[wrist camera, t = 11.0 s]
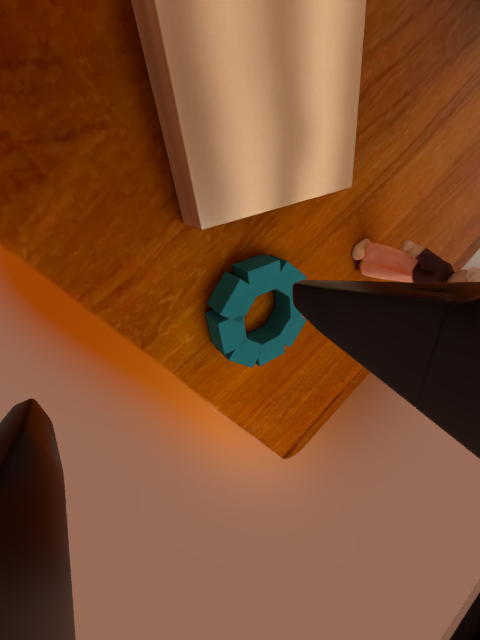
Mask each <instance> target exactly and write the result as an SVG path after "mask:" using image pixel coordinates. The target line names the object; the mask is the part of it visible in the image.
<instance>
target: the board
mask: <svg viewBox="0 0 480 640" xmlns="http://www.w3.org/2000/svg"><path fill="white" fill-rule="evenodd" d="M131 2H132V7H133V11H134V15H135V19H136V24H137V28H138V32H139V36H140V41H141V45H142V49H143V53H144V58H145V62H146V66H147V70H148V75H149V79H150V83H151V87H152V92H153V96H154V100H155V104H156V109H157V113H158V117H159V121H160V126H161V130H162V134H163V138H164V143H165V147H166V151H167V155H168V160H169V164H170V168H171V172H172V177H173V181H174V185H175V189H176V194H177V198H178V202H179V206H180V211H181V215H182V219H183V223H184V224H186V225H189V226H192V227H195V228H197V229H200V230H203V229H207V228H210V227H214V226H217V225H221V224H224V223H228V222H231V221H235V220H238V219H242V218H245V217H249V216H252V215H256V214H259V213H263V212H266V211H270V210H273V209H277V208H280V207H284V206H287V205H291V204H294V203H298V202H301V201H305V200H308V199H312V198H315V197H319V196H322V195H326V194H329V193H333V192H336V191H340V190H343V189H347V188H350V187H352V178H353V165H354V152H355V139H356V126H357V113H358V100H359V88H360V75H361V62H362V49H363V36H364V23H365V10H366V0H131Z"/></svg>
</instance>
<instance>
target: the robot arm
mask: <svg viewBox="0 0 480 640" xmlns="http://www.w3.org/2000/svg"><path fill="white" fill-rule="evenodd" d="M292 290H293V305H294V307H295V308H296V309H297V310H298V311H299V312H300V313H301V314H302V315H303V316H304V317H305V318H306V319H307V320H308V321H309V322H310V323H311V324H312V325H313V326H314V327H315V328H316V329H318V330H319V331H320V332H321V333H322V334H323V335H325V336H326V337H327V338H328V339H330V340H331V341H332V342H333V343H335V344H336V345H337V346H338V347H340V348H341V349H342V350H343V351H345V352H346V353H347V354H348V355H350V356H351V357H352V358H354V359H355V360H356V361H357V362H359V363H360V364H361V365H362V366H364V367H365V368H366V369H367V370H369V371H370V372H371V373H372V374H374V375H375V376H376V377H378V378H379V379H380V380H381V381H383V382H384V383H385V384H386V385H388V386H389V387H390V388H392V389H393V390H394V391H395V392H396V393H398V394H399V395H400V396H402V397H403V398H404V399H405V400H406V401H408V402H409V403H410V404H412V405H413V406H414V407H416V409H418V410H419V411H420V412H421V413H423V414H424V415H425V416H426V417H428V418H429V419H430V420H431V421H433V422H434V423H435V424H436V425H438V426H439V427H440V428H441V429H443V430H444V431H445V432H447V433H448V434H449V435H450V436H452V437H453V438H454V439H456V440H457V441H458V442H459V443H460V444H462V445H463V446H464V447H465V448H467V449H468V450H469V451H470V452H472V453H473V454H474V455H476V456H477V457H478V458H479V459H480V282H397V283H396V282H372V281H327V280H301V281H299V282H296V283H294V284H293V287H292ZM0 640H76V639H75V626H74V612H73V598H72V584H71V570H70V556H69V543H68V528H67V515H66V500H65V486H64V476H63V469H62V464H61V460H60V455H59V451H58V447H57V442H56V438H55V433H54V429H53V425H52V422H51V420H50V418H49V417H48V415H47V414H46V413H45V412H44V410H43V409H42V408H41V406H40V405H39V404H38V403H37V401H36V400H34V399H28V400H26V401H24V402H22V403H19V404H17V405H15V406H14V407H13V408H12V409H11V410H10V411H9V413H8V414H7V415H6V416H5V418H4V419H3V420H2V421H1V423H0ZM441 640H480V580H479V581H478V583H477V585H476V586H475V587H474V589H473V591H472V592H471V594H470V595H469V597H468V598H467V600H466V601H465V603H464V604H463V606H462V607H461V609H460V610H459V612H458V613H457V615H456V617H455V618H454V620H453V621H452V623H451V624H450V626H449V627H448V629H447V630H446V632H445V633H444V635H443V636H442V638H441Z"/></svg>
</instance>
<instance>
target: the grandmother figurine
mask: <svg viewBox="0 0 480 640" xmlns="http://www.w3.org/2000/svg"><path fill="white" fill-rule="evenodd" d="M402 250H404V251H406V252H409V253H410V255H412V256H414V257H415V258H412V257H410V256H408V255H407V254H405V253H403V252H401V251H399V250H397V249H395V248H392V247H388V246H384V245H381V244H377V243H371V242H370V241H369V240H368V239H367V238H365V239H363V240H362V241H361V242H359V243H358V244H356V246H355V247H354V249H353V252H352V256H353V259H354V260H360V259H362V260H361V262H360V264H359V269H360V271H361V273H362V274H363V275H365V276H369V277H375V278H381V279H388V280H396V281H401V282H480V268H477V267H472V268H471V269H469V270H459V271H457V272H454V270H453V268H452V266H451V264H449V263H448V262H446V261H444V260H442V259H441V258H440V257H438V256H437V255H435V254H434V253H432V252H431V251H430V250H428V249H427V248H423V247H421V246H419V245H416V244H414V243H413V242H412V241H410V240H407V241H405V242H403V244H402Z"/></svg>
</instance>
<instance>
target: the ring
mask: <svg viewBox="0 0 480 640" xmlns="http://www.w3.org/2000/svg"><path fill="white" fill-rule="evenodd" d="M232 267H233V273H234V275H232V274H230V273H229V272H227V271H225V272H224V274H223V276H222V277H221V279H220V281H219V283H218V284H217V286H216V288H215V290H214V292H213V293H212V295H211V297H210V299H209V300H208V302H207V305H208V306H210V307H211V308H212V309H213V310H211V311H209V312H206V313H205V315H206V319H207V323H208V328H209V332H210V336H211V341H212V343H213V344H214V345H215V346H216V348H217V349H218V350H219V351H220V352H221V353H222V354H223V355H224V356H225V357H226V358H227V359H228V360H230V361H233V362H236V363H239V364H243V365H246V366H249V367H252V368H253V366H254V365H255V363H256V364H257V365H258V366H261V365H263V364H265V363H267V362H269V361H270V360H272V359H274V358H276V357H278V356H280V355H281V354H283V353H285V346H284V344H285V345H287V346H289V347H291V345H292V344H293V342H294V340H295V339H296V337H297V335H298V334H299V332H300V330H301V329H302V327H303V326H304V324H305V322H306V321H307V320H306V319H305V318H303V317H301V316H303V315H302V314H301V313H300V312H299V311H298V310H297V309H296V308H295V307H294V305H293V290H292V287H293V284H294V283H296V282H299V281H301V280H305V279H306V278H307V277H306V276H305V275H304V274H303V273H301V272H300V271H299V270H298V269H296V268H295V267H294V266H293V265H291V264H290V263H289V262H288V261H286V260H283V259H280V258H277V257H275V256H272V255H269V256H267V255H265V254H261V255H258V256H255V257H252V258H249V259H247V260H244V261H241V262H238V263H235V264H233V265H232ZM273 289H274V301H275V309H274V310H273V312H272V314H271V315H270V317H269V319H268V320H267V322H266V324H265V326H263V327H260V328H258V329H256V330H254V331H252V332H250V333H248V334H247V333H246V331H245V324H244V317H245V316H246V314H247V312H248V310H249V309H250V307H251V305H252V304H253V302H254V300H255V298H256V297H257V296H259V295H262V294H264V293H266V292H269V291H271V290H273Z"/></svg>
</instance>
